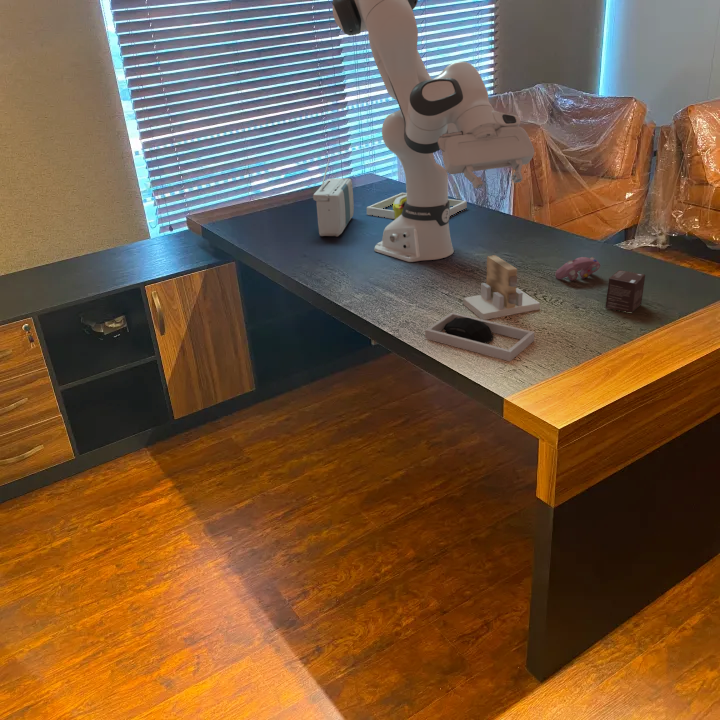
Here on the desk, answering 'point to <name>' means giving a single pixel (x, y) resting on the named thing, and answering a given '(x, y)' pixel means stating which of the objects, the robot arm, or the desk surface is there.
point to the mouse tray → (479, 347)
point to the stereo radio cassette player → (334, 205)
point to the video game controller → (578, 268)
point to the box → (625, 291)
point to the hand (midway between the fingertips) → (498, 183)
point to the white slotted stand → (498, 303)
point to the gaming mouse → (469, 329)
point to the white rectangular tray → (378, 207)
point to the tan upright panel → (502, 279)
